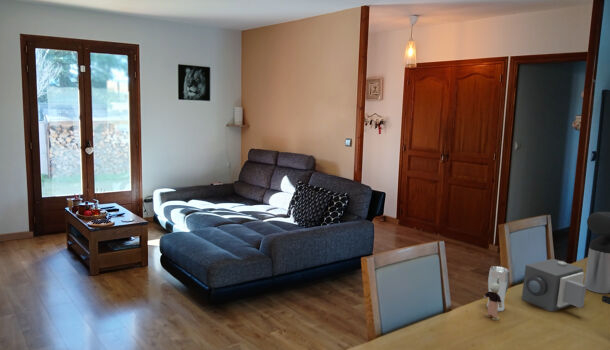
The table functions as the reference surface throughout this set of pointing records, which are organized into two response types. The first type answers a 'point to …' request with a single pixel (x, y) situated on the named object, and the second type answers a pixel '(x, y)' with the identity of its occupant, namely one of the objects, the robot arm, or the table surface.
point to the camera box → (546, 282)
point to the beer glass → (499, 282)
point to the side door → (572, 290)
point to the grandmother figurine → (493, 301)
